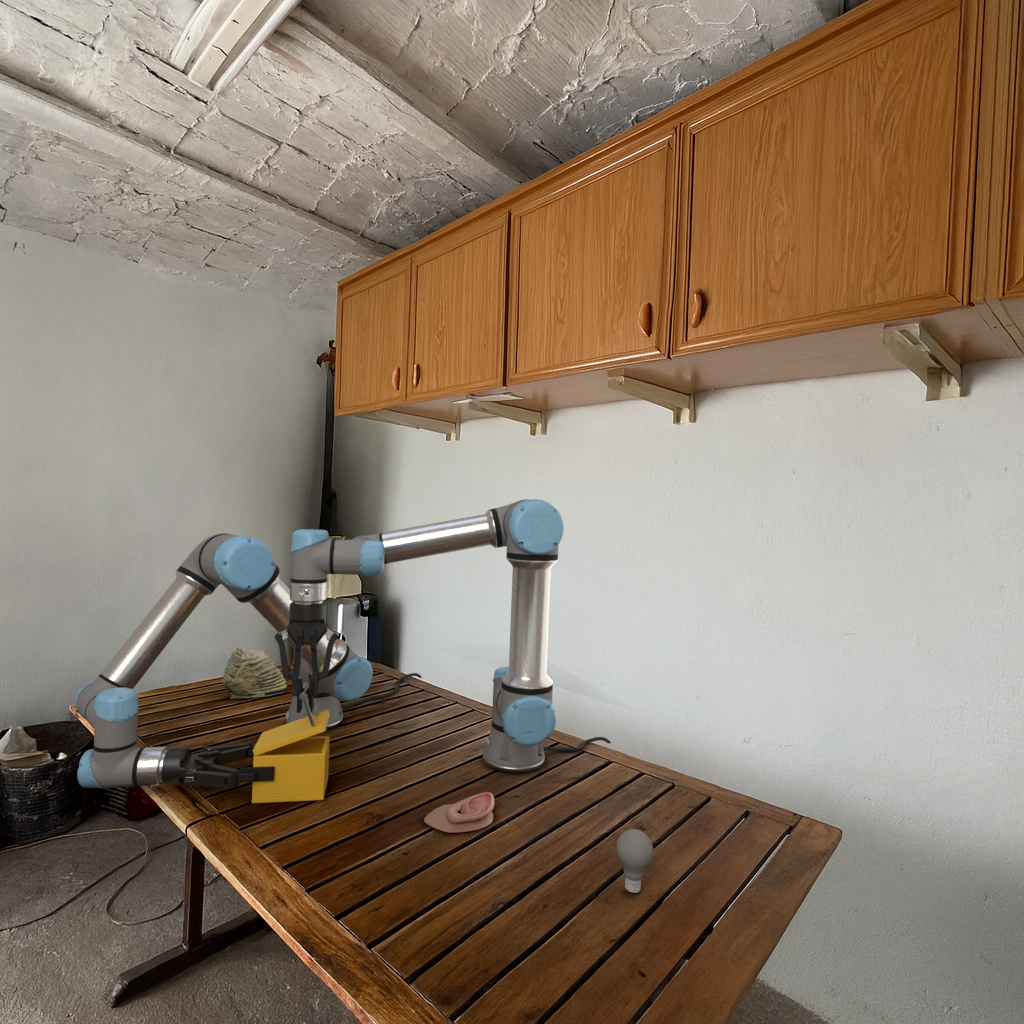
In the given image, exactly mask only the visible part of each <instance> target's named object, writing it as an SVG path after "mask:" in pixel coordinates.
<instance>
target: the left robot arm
mask: <svg viewBox="0 0 1024 1024" xmlns="http://www.w3.org/2000/svg"><path fill="white" fill-rule="evenodd" d="M275 561H276V560H275V556H274V553H273V552H272V550H271V548H270V547H268V545H267V544H265V542H262V541H261V540H259V539H257V538H254V537H252V536H248V535H236V534H232V533H225V532H224V533H223V532H222V533H216V534H213V535H210V536H208V537H206V538H205V539H204V540H203V539H202V540H201V542H200V543H199V544H197V545H196V547H195V548H194V549H193V550H192V551H191V552H190V553H189V554H188V556H187V557H186V558H185V559H184V560H183V562H182V563H181V564H180V565H179V567H178V568H177V569H176V570H175V572H174V573H175V579H174V580H173V581H172V582H171V584H170V585H169V586H168V588H167V589H166V590H165V592H164V593H163V594H162V595H161V597H160V598H159V599H158V600H157V601H156V603H155V604H154V605H153V607H151V610H150V611H149V612H148V613H147V614H146V616H145V617H144V618H143V619H142V620H141V621H140V623H139V625H138V626H137V627H136V628H135V630H134V631H133V632H132V633H131V634H130V635H129V637H128V638H127V639H126V641H125V642H123V645H122V646H121V647H120V648H119V649H118V651H117V652H116V653H115V655H114V656H113V657H112V659H110V661H109V663H108V664H107V665H106V666H105V667H104V668H103V670H102V671H101V672H100V674H99V675H97V677H96V678H95V679H94V680H93V681H91V682H88V683H86V684H84V685H83V686H81V687H80V689H78V691H77V693H76V694H75V697H74V706H75V708H76V711H77V713H78V714H79V716H80V717H82V719H84V720H85V721H87V723H88V724H89V725H90V726H91V727H92V729H93V748H90V749H88V750H86V751H84V753H83V754H82V756H81V758H80V760H79V763H78V769H77V773H76V776H77V777H76V778H77V781H78V784H79V786H80V787H82V788H86V789H102V790H106V789H117V788H135V787H136V788H141V787H147V788H148V789H151V788H153V787H159V786H162V785H164V786H165V787H169V786H170V787H172V786H182V785H184V786H202V787H213V788H223V789H232V788H233V789H236V788H238V787H240V783H253V782H256V781H274V769H275V766H268V767H253V766H242V767H240V769H237V768H233V767H229V766H224V765H227V764H230V763H235V762H239V761H245V760H248V759H251V761H253V757H254V753H253V749H254V747H255V746H254V742H253V741H247V742H241V743H232V744H226V745H225V744H224V745H218V746H204V747H202V751H201V752H198V753H192V751H191V748H190V747H189V746H171V747H167V746H149V747H146V746H145V747H137V742H138V719H139V710H140V709H139V708H140V704H139V694H138V691H137V690H136V689H134V688H135V687H136V686H137V685H138V683H139V682H140V681H141V679H142V678H143V677H144V676H145V674H146V673H147V672H148V670H149V669H150V668H151V666H152V665H153V663H155V661H156V660H157V659H158V657H160V655H161V653H162V652H163V651H164V649H165V648H167V645H168V644H169V643H170V642H171V640H173V638H174V637H175V636H176V634H177V632H178V631H179V630H180V629H181V627H182V626H183V625H184V623H185V622H186V621H187V620H188V618H189V617H190V616H191V615H192V613H193V612H194V610H195V609H196V608H197V607H198V605H199V604H200V603H201V602H202V600H203V599H204V598H205V597H206V596H209V595H212V594H213V593H214V592H215V590H217V588H218V587H219V586H220V585H222V586H223V587H224V588H225V589H226V590H227V591H228V592H229V593H230V594H231V595H232V596H233V597H234V599H236V600H237V601H238V602H239V603H241V604H250V605H251V606H252V607H253V608H254V609H255V610H256V611H257V612H258V613H259V614H260V615H261V616H262V617H263V618H264V620H266V621H267V622H268V624H269V625H270V626H271V627H273V629H274V630H275V631H276V633H278V632H281V631H283V630H285V629H286V628H287V626H288V624H289V610H290V604H291V602H292V601H291V600H290V587H288V586H287V584H286V583H284V581H283V580H282V579H281V578H280V575H281V568H280V567H279V566H278V565H277V564H276V562H275ZM287 636H288V638H287V640H286V642H287V644H289V645H290V646H291V647H292V648H293V649H294V650H295V647H296V643H295V642H294V641H293V639H292V638H291V637H290V635H289V634H287ZM328 642H329V641H328V640H327V634H326V633H325V635H324V636H323V637H322V639H321V640H320V641H319V642H318V654H319V671H320V672H322V670H323V665H324V660H325V655H326V650H327V645H328ZM293 657H294V658H295V654H294V655H293ZM373 675H374V672H373V666H372V664H371V662H370V661H369V660H368V659H367V658H365V657H364V656H362V655H358V654H357V653H356V652H355V651H354V650H353V649H352V648H351V647H350V645H349V644H348V643H347V642H346V641H345V640H343V639H340V638H337V639H336V641H335V643H334V646H333V651H332V657H331V662H330V667H329V672H328V675H327V677H326V678H323V679H321V680H320V681H319V693H318V695H317V696H314V700H315V703H316V706H317V709H318V712H322V711H325V710H329V713H330V716H329V720H328V723H327V727H326V731H329V730H332V729H335V728H337V727H339V726H340V725H342V723H343V722H344V714H343V709H345V708H352V707H354V706H357V705H360V704H362V703H365V702H367V701H371V700H377V699H383V698H387V697H390V696H392V695H394V694H396V693H397V692H398V690H399V689H400V686H401V683H400V682H402V681H403V680H405V679H408V678H410V677H417V678H418V679H422V678H423V677H422V675H421V674H419V673H417V672H411V673H408V674H406V675H403V676H402V677H399V678H398V679H397V680H396V681H395V683H396V686H395V688H394V689H393V690H392V691H390V692H387V693H383V694H377V695H371V696H367V697H363V696H364V694H366V692H368V690H369V688H370V686H371V684H372V681H373V678H372V677H373ZM299 679H303V687H304V684H305V683H306V682H309V681H310V679H313V676H312V659H311V647H310V645H303V650H302V659H301V667H300V677H299ZM361 697H363V698H361ZM307 701H308V703H309V695H308V697H307ZM340 701H343V702H349V703H346V704H345V703H344V704H341V702H340ZM313 714H315V713H314V710H313V711H312V715H313ZM305 717H308V714H307V711H306V708H305V705H304V702H303V701H302V710H301V712H300V713H297V696H292V699H291V702H290V704H289V708H288V710H287V711H286V714H285V716H284V718H285V724H288V723H291V722H293V721H296V720H299V719H302V718H305Z"/></svg>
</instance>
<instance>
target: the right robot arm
mask: <svg viewBox="0 0 1024 1024" xmlns="http://www.w3.org/2000/svg"><path fill="white" fill-rule="evenodd" d="M564 531H565V526H564V520H563V517H562V515H561V513H560V512H559V510H558V509H557V508H556V507H555V506H554V505H552V504H551V503H550V502H547V501H545V500H543V499H537V498H533V499H527V498H526V499H521V500H517V501H514V502H512V503H509V504H506V505H502V506H499V507H495V508H489V509H487V510H486V512H485V513H484V514H479V515H478V514H477V515H473V516H467V517H462V518H461V517H460V518H456V519H451V520H445V521H439V522H434V523H433V522H432V523H429V524H423V525H416V526H412V527H411V526H410V527H407V528H401V529H400V528H399V529H395V530H388V531H384V532H379V533H372V534H361V535H357V536H355V537H353V538H352V539H334V538H330V536H329V532H328V530H326V529H312V528H311V529H310V528H309V529H307V528H305V529H303V528H302V529H297V530H294V532H293V533H292V539H291V549H290V582H289V583H290V584H289V585H290V587H289V589H290V600H291V601H292V602H291V604H290V610H289V624H288V626H287V628H286V629H285V630H283V631H281V632H276V634H275V635H274V640H275V641H276V643H277V645H278V649H279V657H280V664H281V671H282V672H281V673H282V675H283V678H284V679H285V680H289V681H290V682H291V695H292V697H293V696H297V713H300V712H301V710H302V700H300V698H299V695H300V693H301V691H302V689H303V679H299V677H300V667H301V659H302V650H303V645H310V647H311V659H312V676H313V679H310V681H309V703H308V704H309V707H310V710H311V713H312V711H313V705H314V696H317V695H318V693H319V681H320V680H321V679H323V678H326V677H327V675H328V672H329V667H330V662H331V657H332V651H333V646H334V643H335V641H336V639H339V638H338V637H339V633H340V632H338V631H337V630H335V631H334V630H332V629H330V628H329V625H328V624H327V603H326V600H327V599H328V598H327V595H328V575H348V576H349V575H351V576H353V575H354V576H365V577H369V576H378V575H379V576H380V575H382V574H383V572H384V570H385V569H384V568H385V565H387V564H393V563H397V562H404V561H410V560H415V559H420V558H426V557H431V556H437V555H442V554H448V553H449V554H450V553H454V552H458V551H459V552H460V551H464V550H471V549H475V548H480V547H486V546H491V547H493V548H494V549H499V548H505V547H506V556H505V557H506V558H505V559H506V560H507V561H508V562H509V563H510V565H511V566H512V574H511V575H512V576H511V579H512V580H511V601H510V602H511V603H510V624H509V625H510V626H509V627H510V628H509V651H508V666H501V667H498V668H496V669H495V670H494V673H493V679H492V682H493V686H492V687H493V689H492V707H491V708H492V709H491V729H490V732H489V734H488V736H486V738H485V745H484V748H483V752H482V762H483V763H484V764H485V765H486V766H487V767H489V768H490V769H493V770H495V771H498V772H503V773H510V774H511V773H512V774H522V773H529V772H535V771H537V770H539V769H540V768H542V767H543V766H544V764H545V760H546V759H545V758H546V757H545V756H546V755H545V751H551V752H579V751H581V750H583V749H584V747H585V745H587V744H589V743H593V742H597V741H603V742H604V743H606V744H612V742H611V741H610V740H609V738H606V737H603V736H595V737H592V738H588V739H585V740H583V741H582V742H581V744H580V745H579V746H576V747H555V746H543V743H544V742H545V741H546V740H547V739H549V738H550V737H551V735H552V734H553V732H554V730H555V728H556V725H557V714H556V710H555V707H554V705H553V694H554V693H553V692H554V690H553V689H554V681H553V678H551V677H550V676H549V675H548V673H547V671H548V649H549V648H548V647H549V645H548V644H549V624H550V623H549V622H550V621H549V620H550V600H551V599H550V597H551V596H550V595H551V575H552V574H551V571H552V567H553V566H555V564H556V563H558V561H559V545H560V543H561V541H562V539H563V536H564ZM325 633H326V634H327V640H328V641H329V642H328V645H327V650H326V655H325V660H324V665H323V670H322V672H320V671H319V654H318V642H319V641H320V640H321V639H322V637H323V636H324V635H325ZM287 634H289V635H290V637H291V638H292V639H293V641H294V642H295V643H296V647H295V649H294V655H295V657H294V660H293V666H292V668H293V669H292V670H291V663H290V657H289V649H288V642H287V641H286V640H287V638H288V636H287Z"/></svg>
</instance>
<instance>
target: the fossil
mask: <svg viewBox="0 0 1024 1024" xmlns="http://www.w3.org/2000/svg"><path fill="white" fill-rule="evenodd" d="M222 676H223V677H222V685H223V687H224V688H225V690H226V691H228V693H229V698H230V699H250V698H264V697H271V696H275V695H281V694H284V693H285V691H286V689H287V687H288V686H287V679H284V678H283V672H281V669H279V668H278V667H277V665H276V663H275V662H274V660H273V659H272V658H271V657H270V656H269V655H268V654H267V653H266V652H265V650H264V649H263V648H260V647H258V648H251V647H247V646H246V647H245V646H238V647H237V648H236V649H235V650H233V651H232V653H231V656H230V657H229V659H228V660H227V663H226V666H225V668H224V671H223V675H222Z"/></svg>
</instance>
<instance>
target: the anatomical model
mask: <svg viewBox="0 0 1024 1024" xmlns="http://www.w3.org/2000/svg"><path fill="white" fill-rule="evenodd" d="M494 808H495V797H494V794H493V793H492V792H490V791H486V792H481V793H477V794H474V795H471V796H468V797H466V798H463V799H462V800H459V801H456V802H455V803H449V804H448V803H447V804H444V805H441V806H439V807H436V808H435V809H433V810H432V811H430V812H429V813H428V814H426V815H425V817H424V818H423V822H424V823H425V824H426V825H428V826H429V827H431V828H433V829H435V830H438V831H441V832H444V833H450V834H453V833H454V834H455V833H464V832H472V831H477V830H480V829H483V828H485V827H487V826H489V825H491V824H492V822H493V820H494V813H493V810H494Z"/></svg>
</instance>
